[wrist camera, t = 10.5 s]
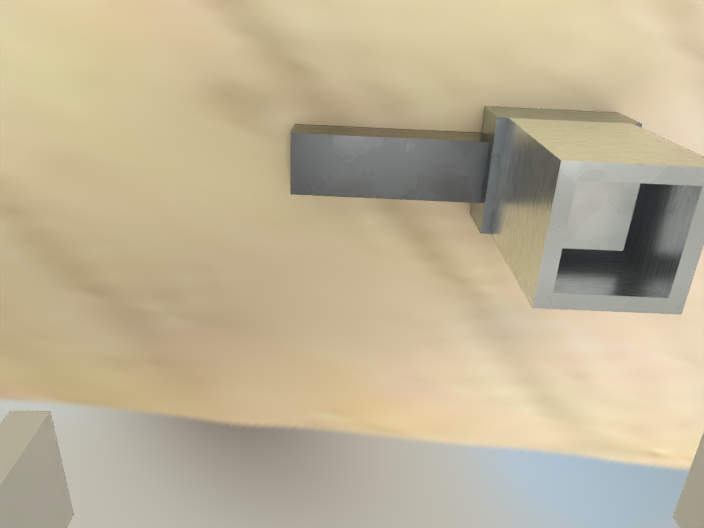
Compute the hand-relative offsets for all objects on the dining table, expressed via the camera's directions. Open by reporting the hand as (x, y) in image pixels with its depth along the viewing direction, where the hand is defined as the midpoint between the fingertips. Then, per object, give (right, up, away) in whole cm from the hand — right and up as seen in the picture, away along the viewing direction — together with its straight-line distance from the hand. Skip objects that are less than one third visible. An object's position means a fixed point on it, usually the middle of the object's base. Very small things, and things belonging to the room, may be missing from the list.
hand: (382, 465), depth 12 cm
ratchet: (+5, +10, +20) cm, 23 cm away
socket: (+10, +8, +18) cm, 22 cm away
